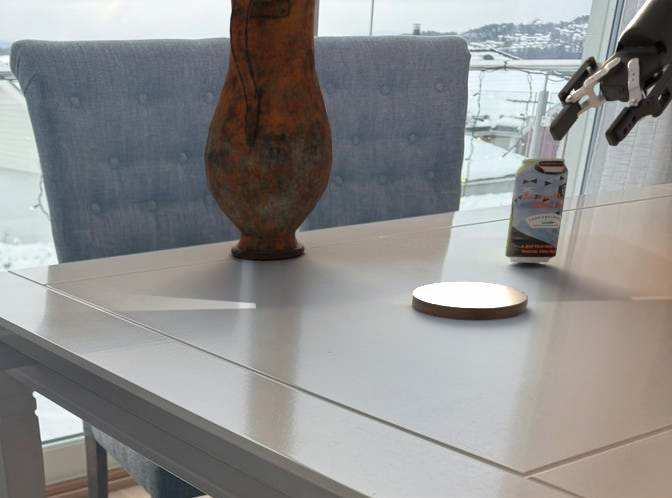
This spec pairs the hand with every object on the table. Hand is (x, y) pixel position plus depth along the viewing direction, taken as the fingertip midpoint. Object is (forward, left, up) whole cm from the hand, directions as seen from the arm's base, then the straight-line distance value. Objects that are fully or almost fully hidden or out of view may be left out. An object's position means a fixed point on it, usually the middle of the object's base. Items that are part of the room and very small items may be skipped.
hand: (581, 138), depth 112 cm
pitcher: (+38, -6, -14) cm, 41 cm away
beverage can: (+5, +3, -14) cm, 15 cm away
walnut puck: (+20, +32, -14) cm, 40 cm away
